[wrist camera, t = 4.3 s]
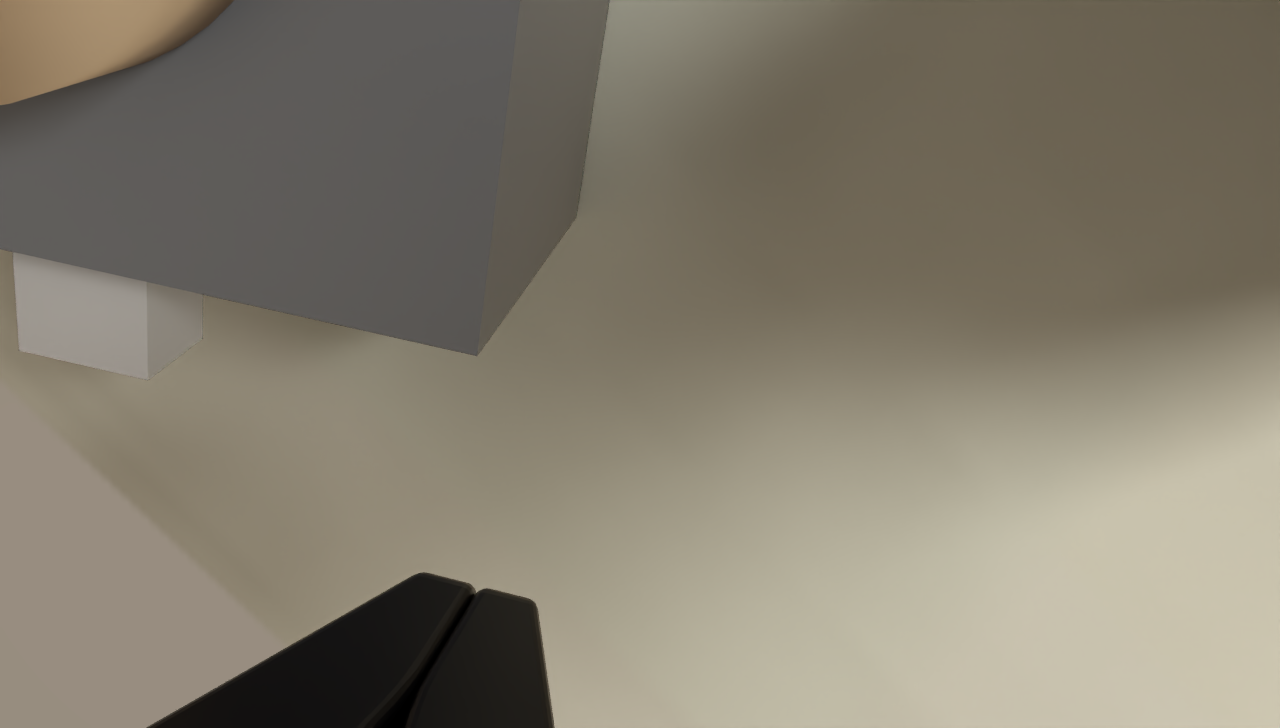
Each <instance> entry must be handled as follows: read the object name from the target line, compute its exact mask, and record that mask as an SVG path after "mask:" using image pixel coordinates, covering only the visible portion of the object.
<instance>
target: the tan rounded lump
mask: <svg viewBox="0 0 1280 728" xmlns="http://www.w3.org/2000/svg"><path fill="white" fill-rule="evenodd" d="M233 1H234V0H0V105H5V104H10V103H14V102H17V101H20V100H24V99H27V98H30V97H33V96H37V95H40V94H43V93H47V92H50V91H53V90H57V89H60V88H63V87H67V86H70V85H73V84H76V83H80V82H83V81H86V80H90V79H93V78H96V77H100V76H103V75H106V74H110V73H113V72H116V71H119V70H123V69H126V68H129V67H132V66H135V65H138V64H142V63H145V62H148V61H151V60H153V59H155V58H157V57H159V56H161V55H163V54H165V53H167V52H169V51H171V50H173V49H175V48H177V47H179V46H181V45H182V44H184V43H185V42H186V41H188V40H189V39H191V38H192V37H193V36H195V35H196V34H197V33H199V32H200V31H202V30H203V29H204V28H206V27H207V26H209V25H210V24H211V23H212V22H213V21H214V20H215V19H216V18H217V17H218V16H219V15H220V14H221V13H222V12H223V11H224V10H225V9H226V8H227V7H228V6H229V5H230V4H231V3H232V2H233Z"/></svg>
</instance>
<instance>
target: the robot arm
mask: <svg viewBox="0 0 1280 728" xmlns="http://www.w3.org/2000/svg"><path fill="white" fill-rule="evenodd" d="M147 728H555V727H554V720H553V713H552V706H551V699H550V692H549V685H548V678H547V671H546V663H545V656H544V649H543V642H542V635H541V628H540V621H539V614H538V608H537V606H536V604H535V602H534V601H532V600H531V599H529V598H525V597H521V596H517V595H513V594H509V593H505V592H501V591H497V590H493V589H487V588H486V589H482V590H480V591H478V592H477V593H476V591H475V588H474V587H473V586H472V585H471V584H469V583H466V582H462V581H458V580H454V579H450V578H446V577H442V576H438V575H434V574H430V573H419V574H415V575H413V576H411V577H409V578H408V579H406V580H404V581H402V582H401V583H399V584H397V585H395V586H394V587H392V588H390V589H388V590H387V591H385V592H383V593H381V594H380V595H378V596H376V597H374V598H373V599H371V600H369V601H367V602H366V603H364V604H362V605H360V606H359V607H357V608H355V609H353V610H352V611H350V612H348V613H346V614H345V615H343V616H341V617H339V618H338V619H336V620H334V621H332V622H331V623H329V624H327V625H325V626H324V627H322V628H320V629H318V630H317V631H315V632H313V633H311V634H310V635H308V636H306V637H304V638H303V639H301V640H299V641H297V642H296V643H294V644H292V645H290V646H289V647H287V648H285V649H283V650H281V651H280V652H278V653H276V654H275V655H273V656H271V657H269V658H268V659H266V660H264V661H262V662H260V663H259V664H257V665H255V666H254V667H252V668H250V669H248V670H247V671H245V672H243V673H241V674H239V675H238V676H236V677H234V678H233V679H231V680H229V681H227V682H226V683H224V684H222V685H220V686H218V687H217V688H215V689H213V690H211V691H210V692H208V693H206V694H204V695H203V696H201V697H199V698H197V699H196V700H194V701H192V702H190V703H189V704H187V705H185V706H183V707H182V708H180V709H178V710H176V711H175V712H173V713H171V714H170V715H168V716H166V717H164V718H163V719H161V720H159V721H157V722H155V723H154V724H152V725H150V726H149V727H147Z"/></svg>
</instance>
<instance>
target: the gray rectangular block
mask: <svg viewBox="0 0 1280 728" xmlns="http://www.w3.org/2000/svg"><path fill="white" fill-rule="evenodd" d="M608 6H609V0H234V1H233V2H232V3H231V4H230V5H229V6H228V7H227V8H226V9H225V10H224V11H223V12H222V13H221V14H220V15H219V16H218V17H217V18H216V19H215V20H214V21H213V22H212V23H211V24H210V25H209V26H207V27H206V28H204V29H203V30H202V31H200V32H199V33H197V34H196V35H195V36H193V37H192V38H191V39H189V40H188V41H186V42H185V43H184V44H182V45H181V46H179V47H177V48H175V49H173V50H171V51H169V52H167V53H165V54H163V55H161V56H159V57H157V58H155V59H153V60H151V61H148V62H145V63H142V64H138V65H135V66H132V67H129V68H126V69H123V70H119V71H116V72H113V73H110V74H106V75H103V76H100V77H96V78H93V79H90V80H86V81H83V82H80V83H76V84H73V85H70V86H67V87H63V88H60V89H57V90H53V91H50V92H47V93H43V94H40V95H37V96H33V97H30V98H27V99H24V100H20V101H17V102H14V103H10V104H5V105H0V249H2V250H6V251H11V252H13V266H14V281H15V297H16V312H17V327H18V342H19V351H22V352H27V353H31V354H36V355H40V356H44V357H49V358H53V359H57V360H62V361H66V362H70V363H75V364H79V365H83V366H88V367H92V368H96V369H101V370H105V371H109V372H114V373H118V374H122V375H127V376H131V377H135V378H140V379H144V380H149V379H150V378H152V377H153V376H154V375H156V374H157V373H158V372H160V371H161V370H162V369H164V368H165V367H166V366H167V365H169V364H170V363H171V362H173V361H174V360H175V359H177V358H178V357H179V356H181V355H182V354H183V353H184V352H186V351H187V350H188V349H190V348H191V347H192V346H194V345H195V344H196V343H198V342H199V341H200V340H201V339H203V295H207V296H212V297H216V298H220V299H225V300H229V301H234V302H238V303H243V304H247V305H252V306H256V307H261V308H265V309H270V310H274V311H278V312H283V313H287V314H292V315H296V316H301V317H305V318H310V319H314V320H319V321H323V322H328V323H332V324H336V325H341V326H345V327H350V328H354V329H359V330H363V331H368V332H372V333H377V334H381V335H386V336H390V337H394V338H399V339H403V340H408V341H412V342H417V343H421V344H426V345H430V346H435V347H439V348H444V349H448V350H452V351H457V352H461V353H466V354H470V355H475V356H478V354H479V353H480V351H481V350H482V349H483V347H484V346H485V344H486V343H487V342H488V340H489V339H490V337H491V336H492V335H493V333H494V332H495V331H496V329H497V328H498V326H499V325H500V324H501V322H502V321H503V319H504V318H505V317H506V315H507V314H508V312H509V311H510V310H511V308H512V307H513V305H514V304H515V303H516V301H517V300H518V298H519V297H520V296H521V294H522V293H523V291H524V290H525V289H526V287H527V286H528V284H529V283H530V282H531V280H532V279H533V277H534V276H535V275H536V273H537V272H538V271H539V269H540V268H541V266H542V265H543V264H544V262H545V261H546V259H547V258H548V257H549V255H550V254H551V252H552V251H553V250H554V248H555V247H556V245H557V244H558V243H559V241H560V240H561V238H562V237H563V236H564V234H565V233H566V231H567V230H568V229H569V227H570V226H571V224H572V223H573V222H574V220H575V219H576V216H577V209H578V203H579V196H580V190H581V183H582V177H583V170H584V164H585V157H586V151H587V144H588V137H589V131H590V124H591V118H592V111H593V105H594V98H595V92H596V85H597V79H598V72H599V65H600V59H601V52H602V46H603V39H604V33H605V26H606V20H607V13H608Z"/></svg>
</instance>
